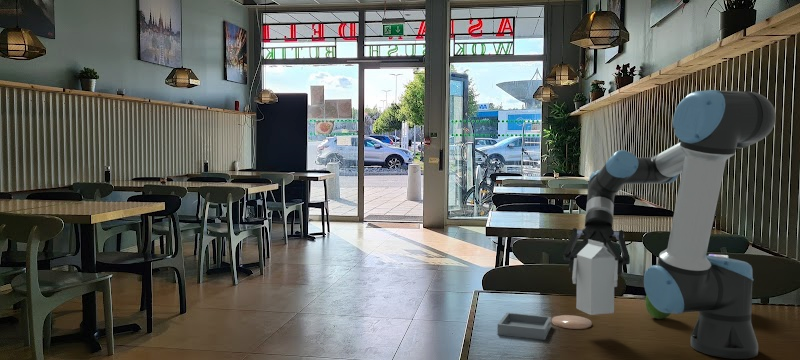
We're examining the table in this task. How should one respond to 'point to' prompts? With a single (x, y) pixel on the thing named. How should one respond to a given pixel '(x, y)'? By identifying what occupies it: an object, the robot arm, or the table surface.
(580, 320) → the peach flat disc
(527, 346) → the table surface
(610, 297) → the milk carton
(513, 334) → the square tray
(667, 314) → the avocado
